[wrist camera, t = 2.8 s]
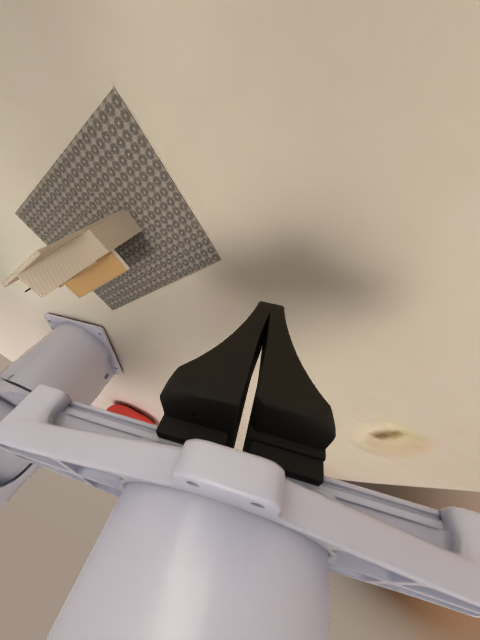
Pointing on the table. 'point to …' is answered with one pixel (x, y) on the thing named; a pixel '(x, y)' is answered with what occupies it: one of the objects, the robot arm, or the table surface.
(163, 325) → the table surface
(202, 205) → the table surface
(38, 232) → the architectural model
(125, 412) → the stress ball
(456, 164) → the table surface
